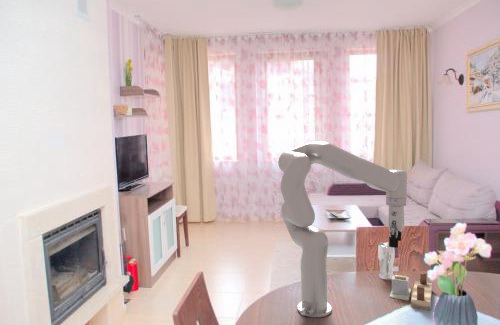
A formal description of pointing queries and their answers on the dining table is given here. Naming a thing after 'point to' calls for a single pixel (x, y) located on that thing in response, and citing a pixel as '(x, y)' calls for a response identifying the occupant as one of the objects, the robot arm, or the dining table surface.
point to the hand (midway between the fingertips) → (395, 243)
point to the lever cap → (400, 285)
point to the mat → (400, 296)
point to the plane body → (422, 293)
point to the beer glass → (386, 260)
